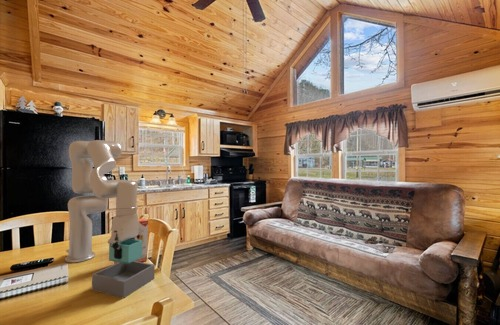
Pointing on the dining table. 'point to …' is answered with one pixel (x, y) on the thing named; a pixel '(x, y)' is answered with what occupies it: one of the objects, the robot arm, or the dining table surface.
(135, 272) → the charcoal crate
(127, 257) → the teal crate
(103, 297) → the dining table surface
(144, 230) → the cracker box
